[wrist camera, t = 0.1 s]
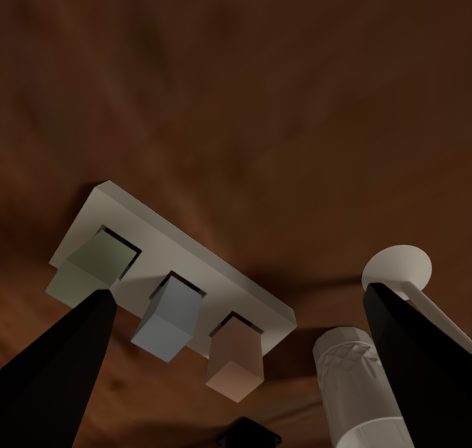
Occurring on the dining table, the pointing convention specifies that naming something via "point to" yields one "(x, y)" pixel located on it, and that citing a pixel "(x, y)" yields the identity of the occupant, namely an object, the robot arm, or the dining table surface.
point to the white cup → (357, 392)
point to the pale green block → (90, 269)
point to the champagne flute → (411, 284)
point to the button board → (174, 269)
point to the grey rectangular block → (168, 320)
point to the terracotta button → (235, 360)
